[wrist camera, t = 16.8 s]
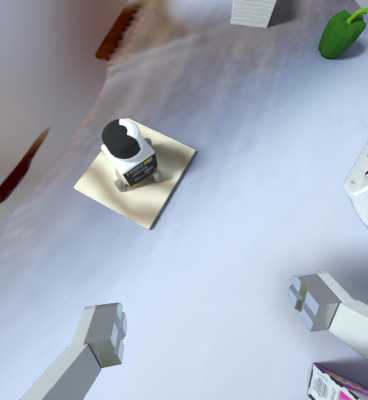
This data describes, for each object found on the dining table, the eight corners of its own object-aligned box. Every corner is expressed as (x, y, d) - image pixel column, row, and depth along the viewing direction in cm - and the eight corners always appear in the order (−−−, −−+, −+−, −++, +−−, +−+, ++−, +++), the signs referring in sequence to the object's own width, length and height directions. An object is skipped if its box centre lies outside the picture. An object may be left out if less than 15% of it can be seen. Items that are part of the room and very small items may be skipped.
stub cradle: (128, 120, 48) (123, 108, 44) (195, 152, 45) (196, 142, 42) (75, 189, 42) (65, 182, 38) (149, 230, 40) (145, 226, 36)
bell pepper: (309, 57, 55) (336, 13, 46) (316, 38, 58) (343, -7, 48) (340, 67, 54) (374, 25, 45) (345, 47, 57) (379, 3, 47)
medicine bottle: (131, 189, 41) (112, 160, 30) (112, 164, 43) (87, 128, 31) (159, 169, 43) (151, 134, 31) (139, 146, 44) (125, 105, 33)
